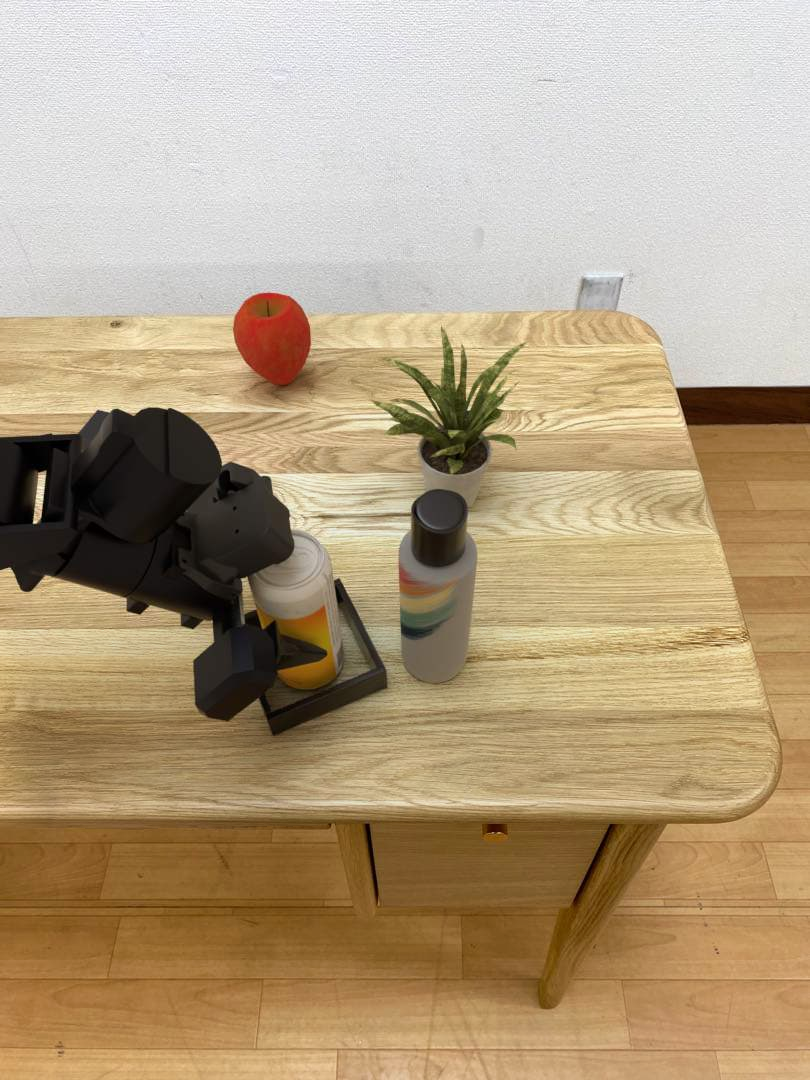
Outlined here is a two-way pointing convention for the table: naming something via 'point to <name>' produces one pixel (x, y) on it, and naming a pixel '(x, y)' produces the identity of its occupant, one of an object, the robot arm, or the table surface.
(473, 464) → the house plant
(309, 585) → the beer can
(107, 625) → the table surface
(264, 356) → the apple
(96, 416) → the mat
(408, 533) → the lotion bottle
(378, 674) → the black square frame
